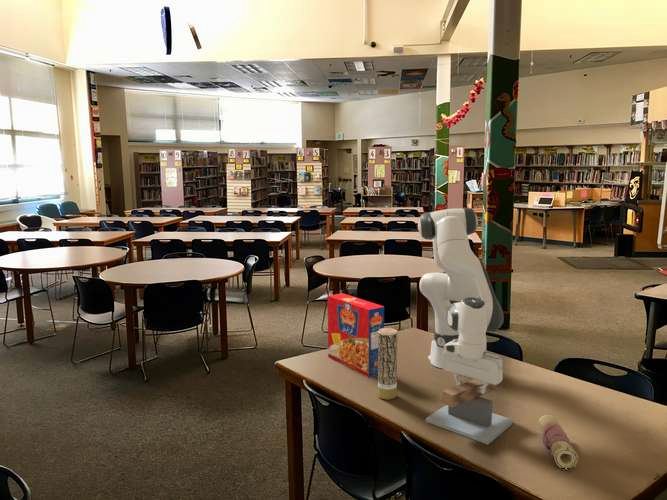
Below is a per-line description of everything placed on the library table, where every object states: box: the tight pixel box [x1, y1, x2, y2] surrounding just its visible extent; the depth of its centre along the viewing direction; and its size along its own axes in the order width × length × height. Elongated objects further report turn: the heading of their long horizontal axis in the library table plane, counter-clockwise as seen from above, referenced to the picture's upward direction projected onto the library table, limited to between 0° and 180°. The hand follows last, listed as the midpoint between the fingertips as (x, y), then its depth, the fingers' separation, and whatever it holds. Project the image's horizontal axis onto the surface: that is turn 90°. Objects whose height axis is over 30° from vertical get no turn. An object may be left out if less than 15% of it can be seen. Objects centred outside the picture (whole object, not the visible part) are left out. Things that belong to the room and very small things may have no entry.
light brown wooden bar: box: [441, 378, 497, 407], centre depth 170 cm, size 22×4×4 cm, turn 126°
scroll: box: [536, 414, 579, 469], centre depth 153 cm, size 8×8×20 cm
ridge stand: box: [425, 396, 514, 446], centre depth 171 cm, size 22×18×9 cm
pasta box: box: [327, 292, 385, 378], centre depth 220 cm, size 28×8×28 cm, turn 36°
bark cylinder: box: [377, 327, 398, 401], centre depth 189 cm, size 7×7×25 cm
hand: (470, 389), depth 170 cm, fingers open, 7 cm apart
